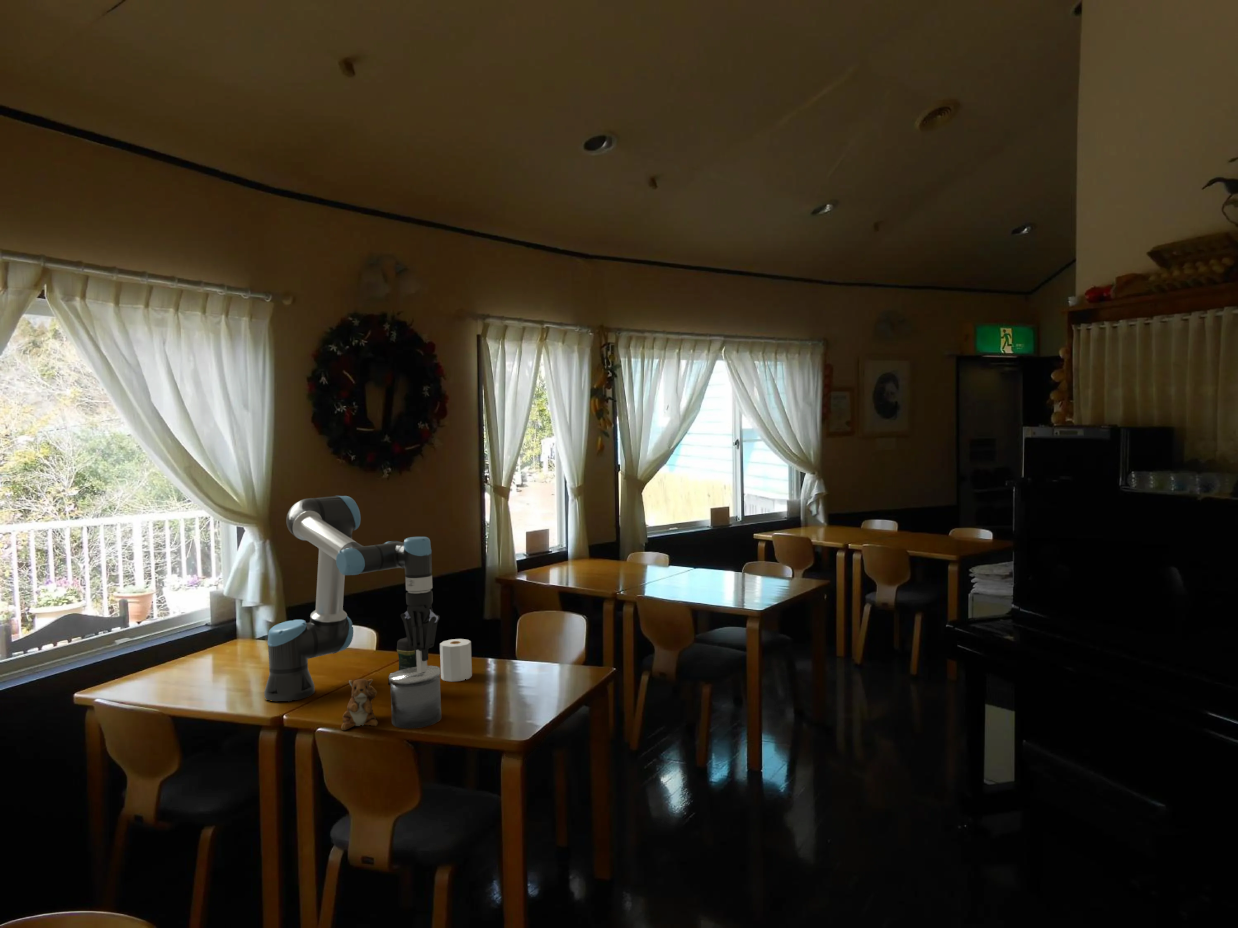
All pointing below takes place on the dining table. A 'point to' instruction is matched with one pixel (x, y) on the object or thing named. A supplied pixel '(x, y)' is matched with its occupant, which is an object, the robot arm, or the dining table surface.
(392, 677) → the lid
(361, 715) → the stuffed squirrel
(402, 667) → the coffee jar
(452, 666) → the toilet paper
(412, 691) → the cooker pot
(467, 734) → the dining table surface
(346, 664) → the dining table surface
